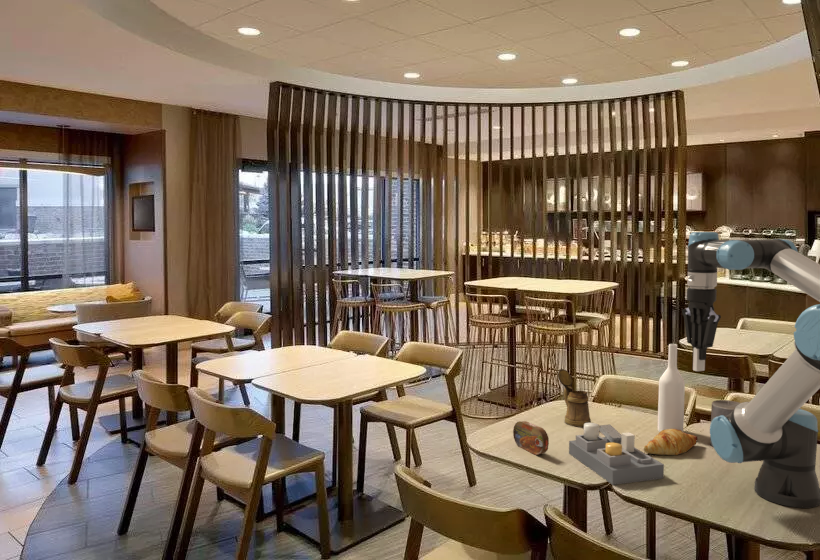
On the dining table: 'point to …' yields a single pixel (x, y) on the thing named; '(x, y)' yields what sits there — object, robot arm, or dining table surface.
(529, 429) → the tin
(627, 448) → the slider knob
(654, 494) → the dining table surface
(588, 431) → the white button
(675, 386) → the bottle
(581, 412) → the wooden mug
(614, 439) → the plate
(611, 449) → the amber button
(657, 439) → the croissant
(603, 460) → the panel
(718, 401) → the pillar candle
